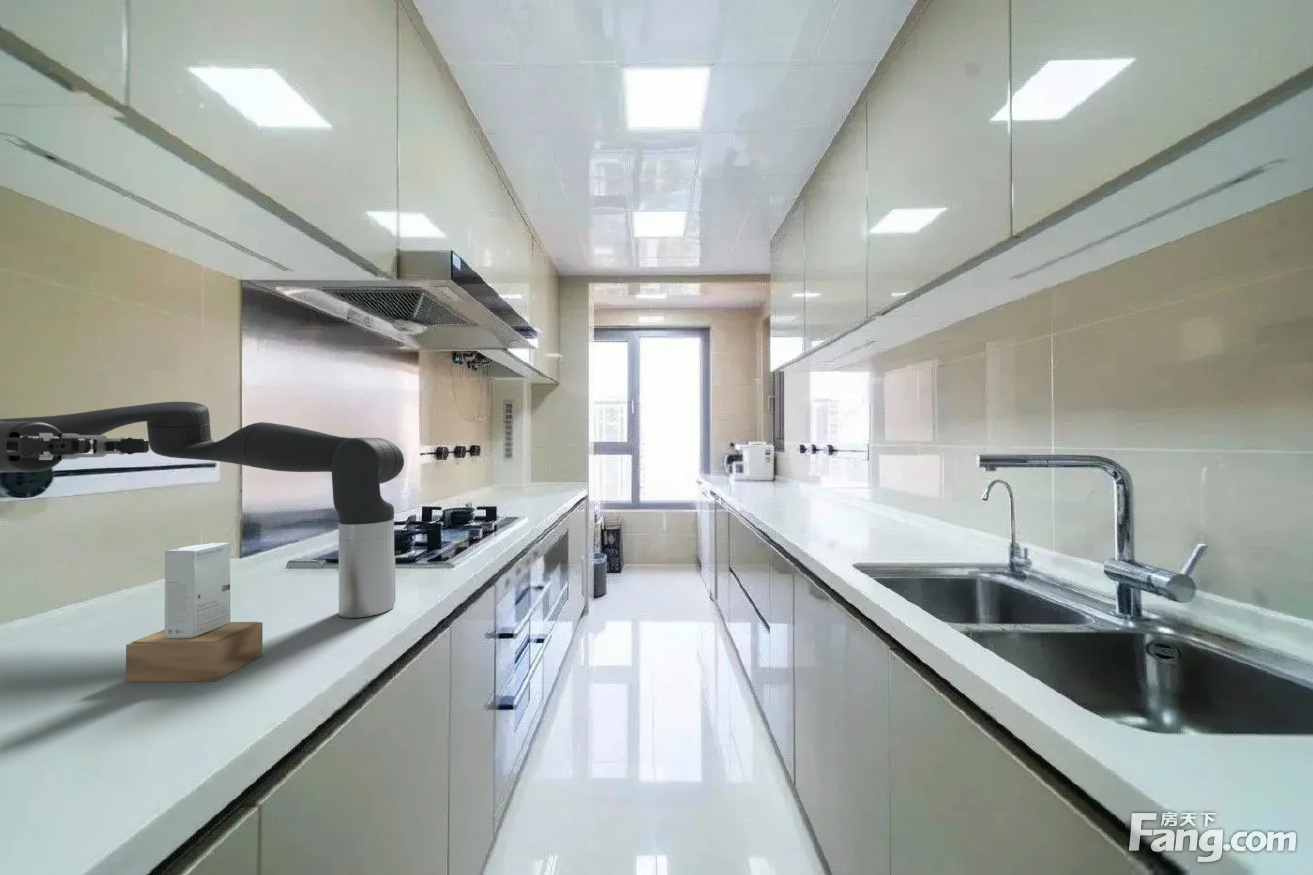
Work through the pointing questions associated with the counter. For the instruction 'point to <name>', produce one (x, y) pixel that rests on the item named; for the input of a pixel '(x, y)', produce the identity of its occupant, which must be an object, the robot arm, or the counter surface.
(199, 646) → the block
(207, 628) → the skincare box
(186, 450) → the robot arm
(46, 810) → the counter surface
